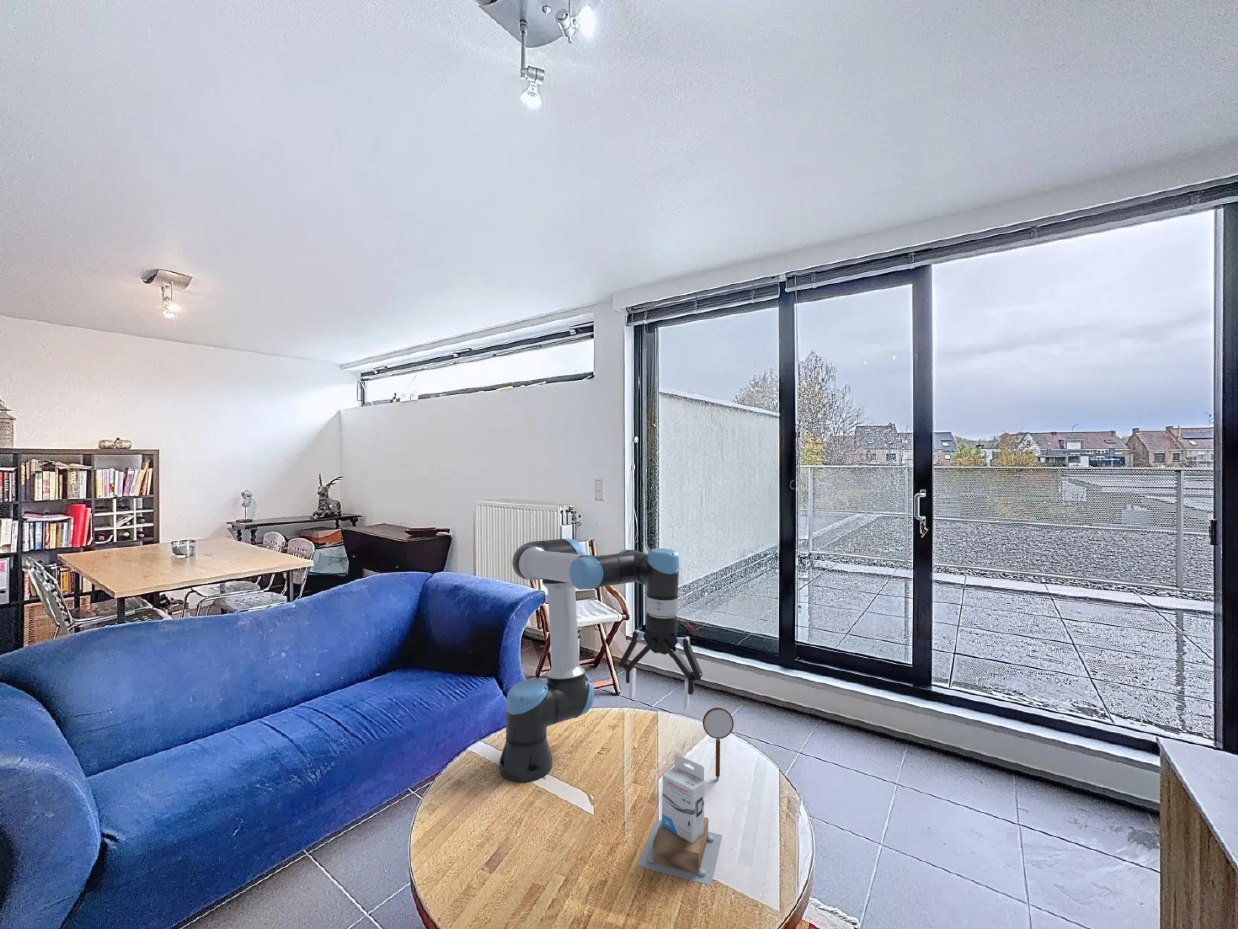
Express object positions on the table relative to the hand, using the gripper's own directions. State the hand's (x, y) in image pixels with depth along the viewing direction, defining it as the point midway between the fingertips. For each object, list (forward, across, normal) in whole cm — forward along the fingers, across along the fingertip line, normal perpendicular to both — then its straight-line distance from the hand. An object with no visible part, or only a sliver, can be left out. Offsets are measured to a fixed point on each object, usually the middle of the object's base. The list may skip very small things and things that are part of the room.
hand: (658, 701), depth 128 cm
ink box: (+25, +8, -7) cm, 27 cm away
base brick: (+29, +8, -7) cm, 31 cm away
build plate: (+30, +8, -7) cm, 32 cm away
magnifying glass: (+31, +11, +25) cm, 42 cm away
